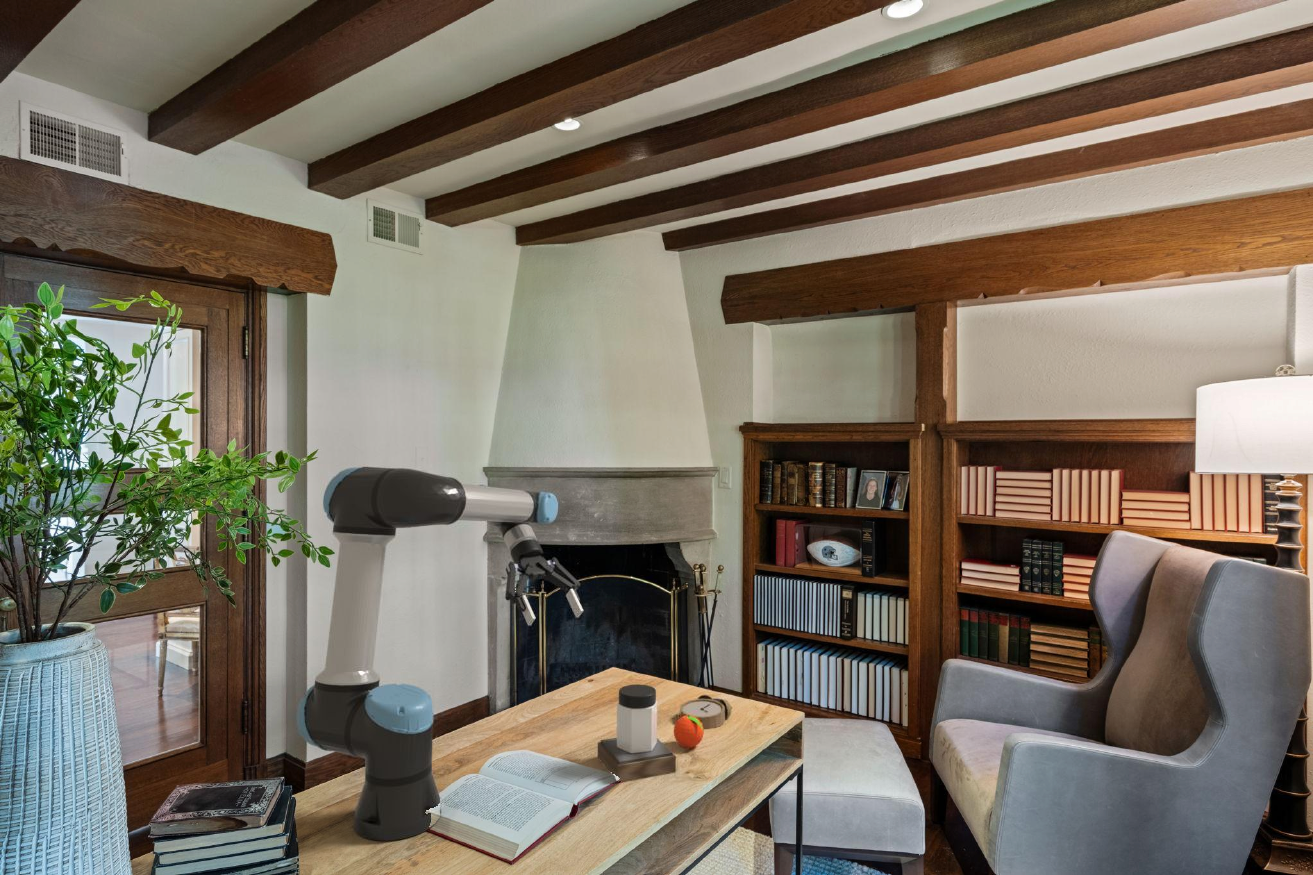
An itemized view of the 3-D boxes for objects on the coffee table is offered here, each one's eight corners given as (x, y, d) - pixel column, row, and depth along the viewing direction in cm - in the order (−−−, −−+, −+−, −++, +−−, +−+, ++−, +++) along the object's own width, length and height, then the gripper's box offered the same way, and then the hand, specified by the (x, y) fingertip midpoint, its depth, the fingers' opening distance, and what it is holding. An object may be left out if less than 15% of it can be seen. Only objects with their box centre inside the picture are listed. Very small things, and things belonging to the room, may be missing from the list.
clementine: (713, 748, 169) (713, 716, 169) (693, 756, 164) (693, 724, 164) (687, 737, 175) (687, 707, 175) (667, 746, 170) (667, 715, 170)
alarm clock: (670, 710, 185) (704, 685, 196) (672, 729, 185) (706, 702, 197) (707, 721, 178) (740, 694, 189) (709, 741, 178) (742, 713, 190)
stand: (618, 782, 151) (618, 763, 151) (597, 757, 163) (597, 739, 163) (675, 772, 156) (675, 753, 156) (651, 748, 168) (651, 730, 168)
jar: (651, 736, 165) (652, 682, 165) (661, 750, 158) (662, 694, 158) (612, 740, 163) (613, 685, 163) (621, 755, 155) (621, 698, 155)
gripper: (558, 552, 196) (591, 619, 185) (473, 560, 179) (503, 634, 168) (570, 534, 192) (605, 602, 181) (485, 541, 175) (516, 615, 164)
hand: (556, 618), depth 174 cm, fingers open, 13 cm apart
